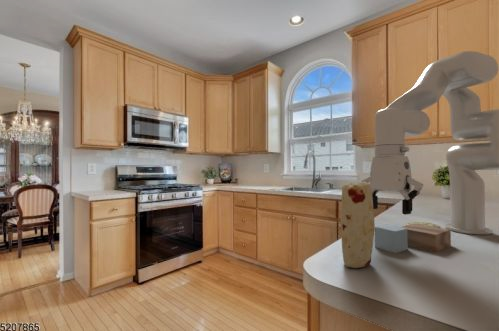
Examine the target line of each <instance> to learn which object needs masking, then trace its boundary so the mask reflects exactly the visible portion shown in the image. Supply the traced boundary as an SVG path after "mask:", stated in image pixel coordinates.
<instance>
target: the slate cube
mask: <svg viewBox="0 0 499 331" xmlns="http://www.w3.org/2000/svg"><path fill="white" fill-rule="evenodd" d="M408 247H409V246H408V239H407V228H402V226H396V225H390V224H383V225H379V226H375V230H374V248H375V249H376V248H377V249H381V250H383V251H387V252H389V253H393V254H397V253H401V252H404V251H407V250H408Z"/></svg>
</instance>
